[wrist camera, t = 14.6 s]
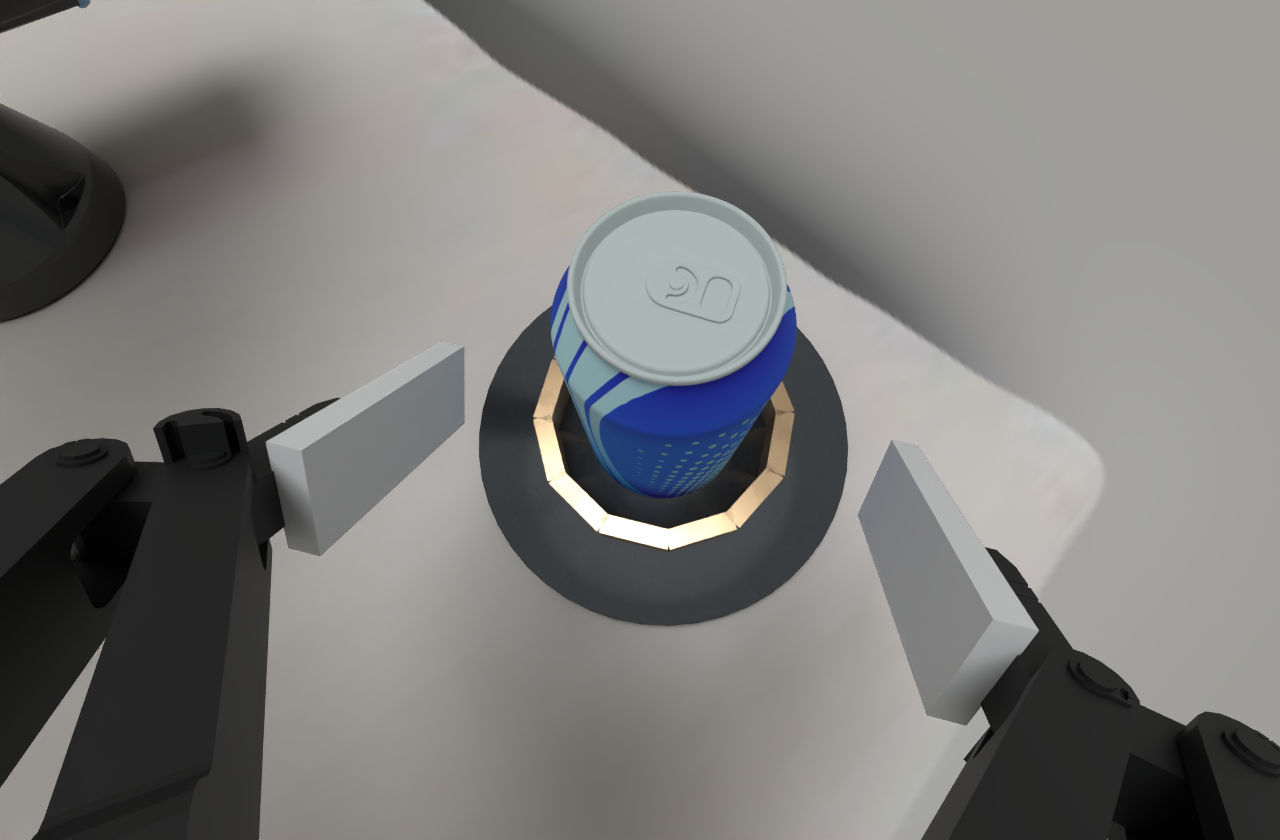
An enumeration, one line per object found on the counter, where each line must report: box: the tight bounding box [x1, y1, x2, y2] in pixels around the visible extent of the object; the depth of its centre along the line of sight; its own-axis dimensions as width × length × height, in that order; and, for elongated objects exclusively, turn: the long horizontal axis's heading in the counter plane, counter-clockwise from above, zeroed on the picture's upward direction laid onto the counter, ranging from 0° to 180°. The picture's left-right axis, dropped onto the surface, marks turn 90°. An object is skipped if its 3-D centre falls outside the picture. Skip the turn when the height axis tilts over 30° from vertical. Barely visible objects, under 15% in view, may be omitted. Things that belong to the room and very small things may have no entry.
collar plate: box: [479, 306, 848, 626], centre depth 30 cm, size 22×22×4 cm
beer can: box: [550, 191, 797, 498], centre depth 23 cm, size 8×8×16 cm
